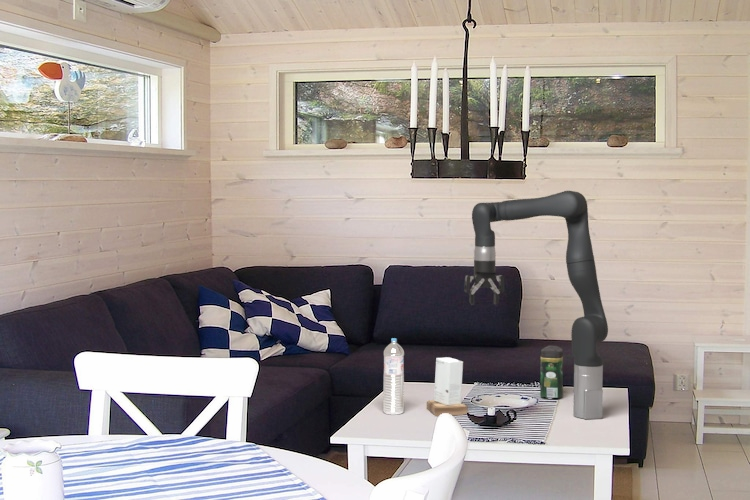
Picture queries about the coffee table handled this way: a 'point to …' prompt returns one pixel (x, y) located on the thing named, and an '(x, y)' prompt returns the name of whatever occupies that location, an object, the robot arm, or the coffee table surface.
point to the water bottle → (393, 379)
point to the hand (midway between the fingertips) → (484, 304)
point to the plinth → (446, 408)
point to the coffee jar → (551, 372)
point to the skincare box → (448, 381)
